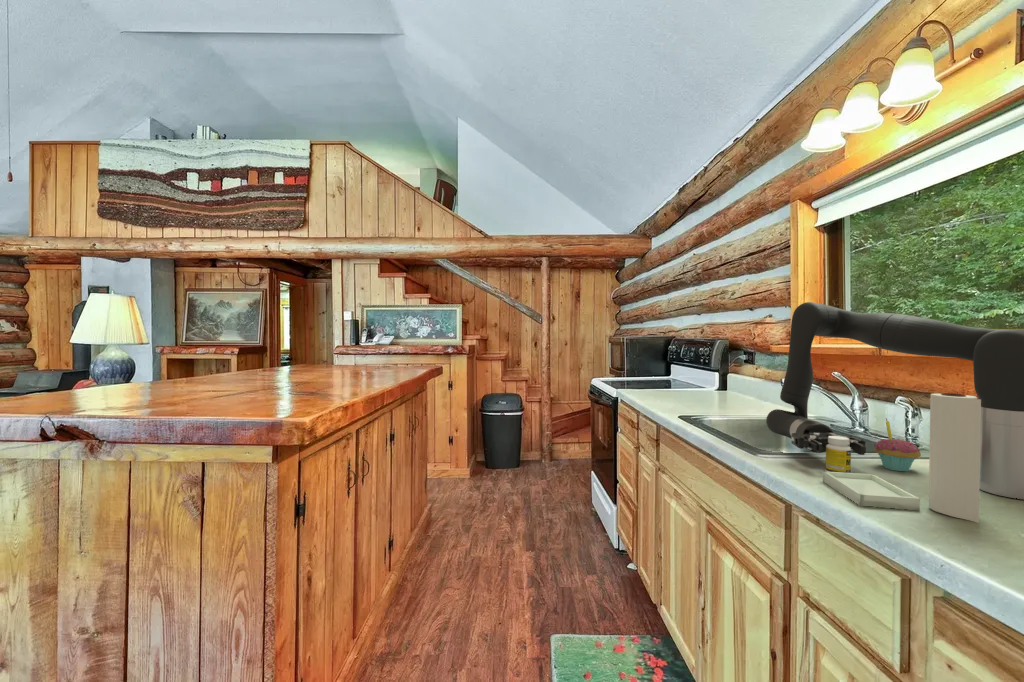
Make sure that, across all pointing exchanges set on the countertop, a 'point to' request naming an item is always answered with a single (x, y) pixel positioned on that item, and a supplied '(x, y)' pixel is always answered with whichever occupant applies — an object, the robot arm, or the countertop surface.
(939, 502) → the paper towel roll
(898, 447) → the cupcake
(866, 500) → the tray
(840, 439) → the supplement bottle
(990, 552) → the countertop surface
